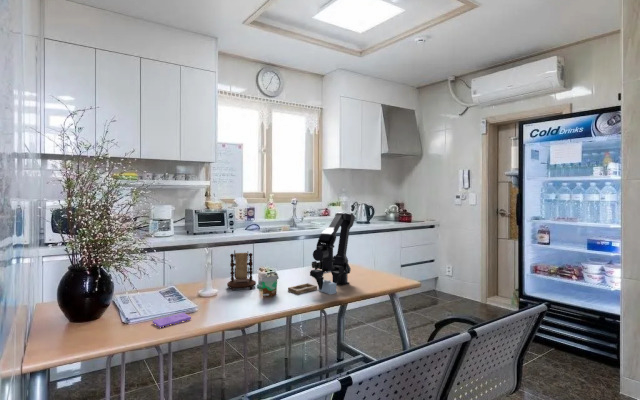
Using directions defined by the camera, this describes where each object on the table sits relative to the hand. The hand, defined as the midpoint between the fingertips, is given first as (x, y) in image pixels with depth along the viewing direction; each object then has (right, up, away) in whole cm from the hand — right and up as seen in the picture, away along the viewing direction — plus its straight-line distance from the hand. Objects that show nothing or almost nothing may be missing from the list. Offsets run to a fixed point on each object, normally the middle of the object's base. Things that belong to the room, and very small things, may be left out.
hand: (327, 288), depth 188 cm
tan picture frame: (-13, -2, +2) cm, 13 cm away
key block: (0, -2, 0) cm, 2 cm away
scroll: (-45, -2, +7) cm, 46 cm away
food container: (-27, -2, -5) cm, 28 cm away
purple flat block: (-62, -4, -41) cm, 75 cm away
